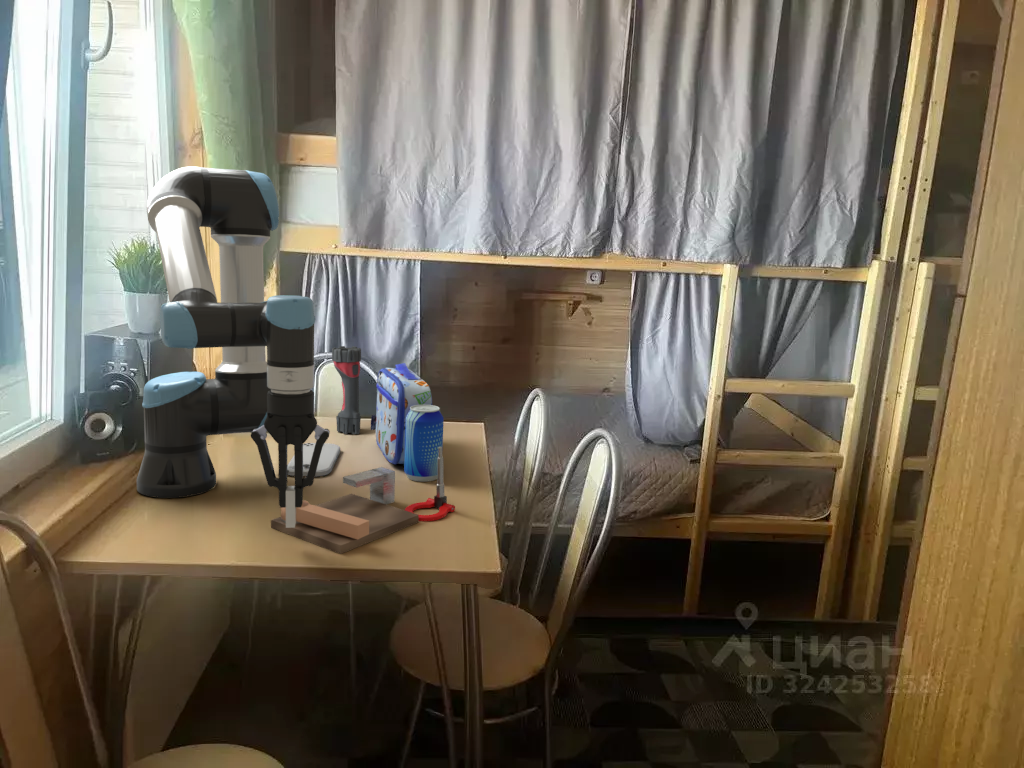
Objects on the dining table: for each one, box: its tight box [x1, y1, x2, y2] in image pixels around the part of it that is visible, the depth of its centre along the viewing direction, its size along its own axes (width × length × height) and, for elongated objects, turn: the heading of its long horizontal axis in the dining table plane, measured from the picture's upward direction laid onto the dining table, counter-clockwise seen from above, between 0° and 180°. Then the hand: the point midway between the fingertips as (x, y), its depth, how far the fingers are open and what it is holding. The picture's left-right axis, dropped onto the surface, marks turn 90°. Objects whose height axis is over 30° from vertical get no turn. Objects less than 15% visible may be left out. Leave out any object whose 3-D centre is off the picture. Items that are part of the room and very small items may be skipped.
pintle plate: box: [270, 493, 420, 555], centre depth 147 cm, size 18×20×2 cm
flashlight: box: [331, 345, 362, 435], centre depth 211 cm, size 8×8×23 cm
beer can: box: [403, 404, 445, 483], centre depth 176 cm, size 8×8×16 cm
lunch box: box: [370, 362, 433, 465], centre depth 192 cm, size 28×10×22 cm, turn 22°
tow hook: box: [404, 447, 456, 522], centre depth 154 cm, size 8×13×9 cm
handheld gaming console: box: [287, 442, 341, 478], centre depth 184 cm, size 23×3×10 cm
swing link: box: [280, 499, 369, 539], centre depth 141 cm, size 18×5×4 cm, turn 61°
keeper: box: [342, 466, 396, 505], centre depth 157 cm, size 10×4×6 cm, turn 141°
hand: (291, 524), depth 135 cm, fingers closed
